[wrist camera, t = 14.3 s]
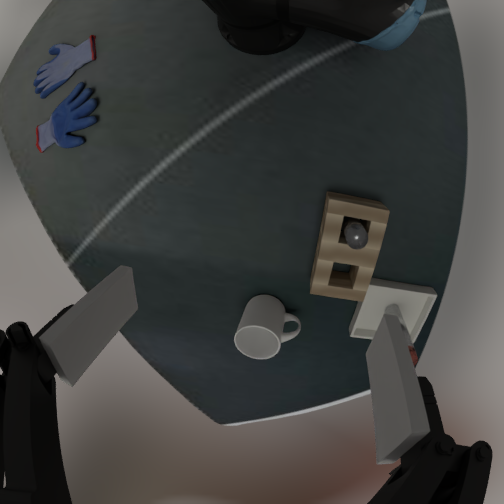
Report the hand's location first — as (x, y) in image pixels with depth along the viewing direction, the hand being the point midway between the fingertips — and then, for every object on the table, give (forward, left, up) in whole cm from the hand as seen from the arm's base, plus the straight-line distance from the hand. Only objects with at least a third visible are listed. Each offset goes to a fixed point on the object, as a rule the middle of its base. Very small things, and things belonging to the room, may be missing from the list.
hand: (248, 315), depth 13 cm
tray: (+22, +25, -37) cm, 50 cm away
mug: (+27, 0, -37) cm, 46 cm away
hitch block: (+9, +11, -37) cm, 39 cm away
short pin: (+5, +11, -37) cm, 39 cm away
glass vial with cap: (+22, +25, -36) cm, 49 cm away
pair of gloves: (-20, -56, -37) cm, 70 cm away
